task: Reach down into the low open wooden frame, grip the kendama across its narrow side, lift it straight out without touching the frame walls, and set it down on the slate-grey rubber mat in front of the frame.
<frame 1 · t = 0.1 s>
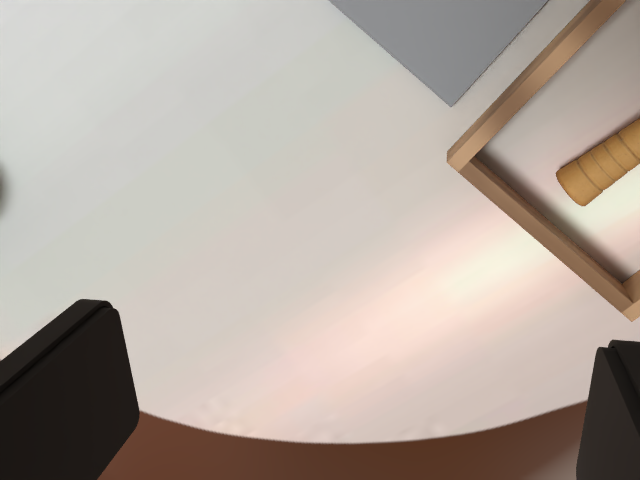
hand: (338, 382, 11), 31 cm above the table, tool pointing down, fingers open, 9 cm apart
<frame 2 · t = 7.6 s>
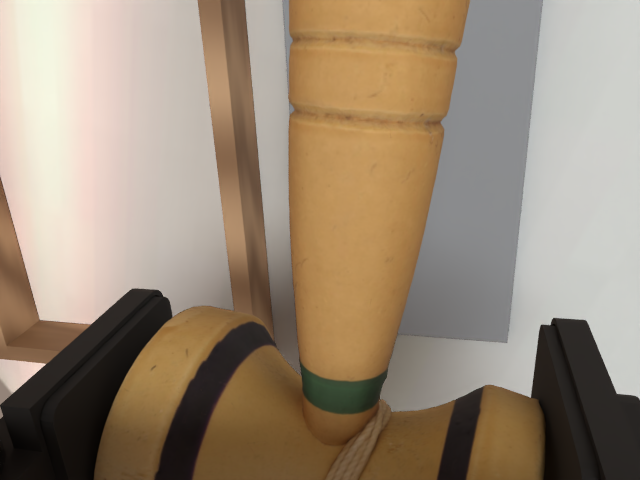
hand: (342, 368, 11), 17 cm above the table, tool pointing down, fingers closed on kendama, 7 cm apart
mat: (405, 151, 27), on the table
kendama: (358, 302, 12), point 16 cm above the table, touching gripper
wooden frame: (108, 148, 30), on the table
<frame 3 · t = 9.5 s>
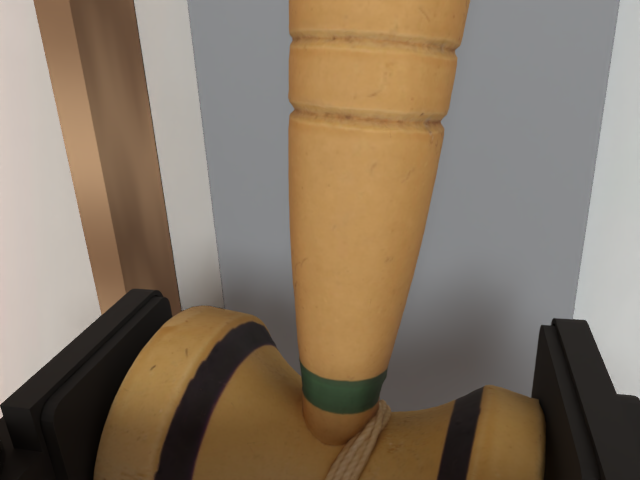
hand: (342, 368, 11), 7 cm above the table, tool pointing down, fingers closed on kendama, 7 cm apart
mat: (387, 244, 17), on the table
kendama: (358, 302, 12), point 5 cm above the table, touching gripper
when the fingers open (3 cm above the table, at t = 11.3 s): kendama drops 1 cm, resting on mat.
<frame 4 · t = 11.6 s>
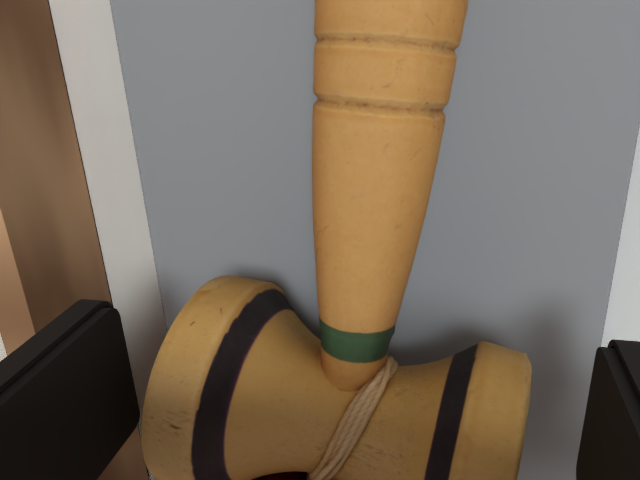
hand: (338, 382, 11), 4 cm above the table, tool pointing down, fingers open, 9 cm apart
mat: (366, 291, 14), on the table
kendama: (368, 275, 14), resting on mat
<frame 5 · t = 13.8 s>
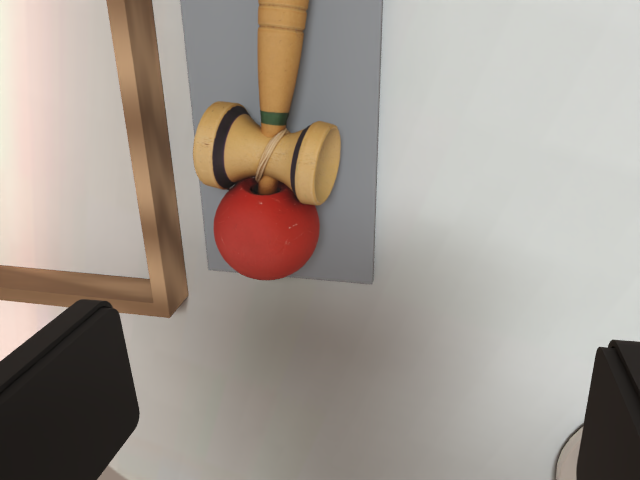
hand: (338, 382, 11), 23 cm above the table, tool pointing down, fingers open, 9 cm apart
mat: (284, 122, 33), on the table
kendama: (284, 109, 32), resting on mat
wooden frame: (42, 113, 36), on the table
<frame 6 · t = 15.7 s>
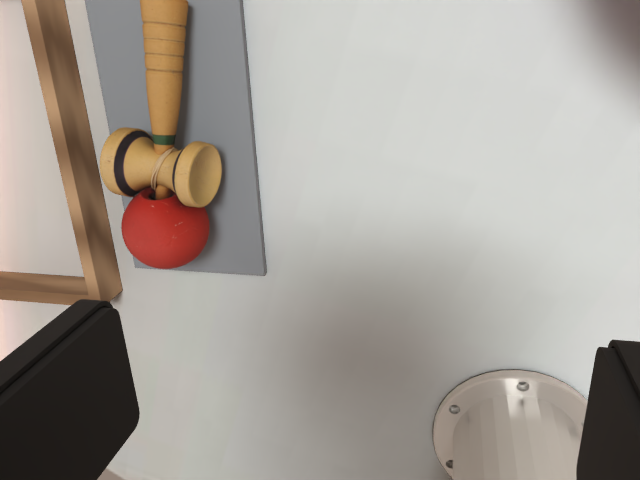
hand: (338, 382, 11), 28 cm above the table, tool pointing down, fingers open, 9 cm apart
mat: (183, 144, 41), on the table
kendama: (180, 132, 40), resting on mat
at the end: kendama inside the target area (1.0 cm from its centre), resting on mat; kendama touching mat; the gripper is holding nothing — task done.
